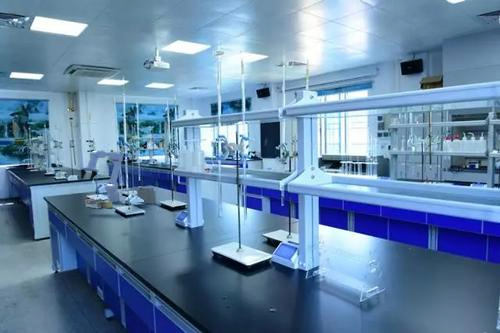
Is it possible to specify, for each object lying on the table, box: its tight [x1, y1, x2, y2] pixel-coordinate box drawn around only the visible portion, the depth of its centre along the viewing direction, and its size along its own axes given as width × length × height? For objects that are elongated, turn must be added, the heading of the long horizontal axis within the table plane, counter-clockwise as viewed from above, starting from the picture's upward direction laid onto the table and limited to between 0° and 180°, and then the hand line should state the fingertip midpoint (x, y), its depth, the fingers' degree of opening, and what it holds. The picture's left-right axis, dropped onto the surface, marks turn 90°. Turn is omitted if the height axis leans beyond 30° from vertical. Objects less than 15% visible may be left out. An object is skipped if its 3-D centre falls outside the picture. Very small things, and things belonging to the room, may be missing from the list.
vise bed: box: [85, 199, 114, 209], centre depth 288 cm, size 14×16×5 cm
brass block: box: [103, 200, 113, 209], centre depth 282 cm, size 4×5×5 cm
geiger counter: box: [134, 185, 157, 205], centre depth 298 cm, size 14×6×25 cm
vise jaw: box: [84, 198, 103, 204], centre depth 293 cm, size 12×9×3 cm
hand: (86, 179), depth 276 cm, fingers open, 7 cm apart
